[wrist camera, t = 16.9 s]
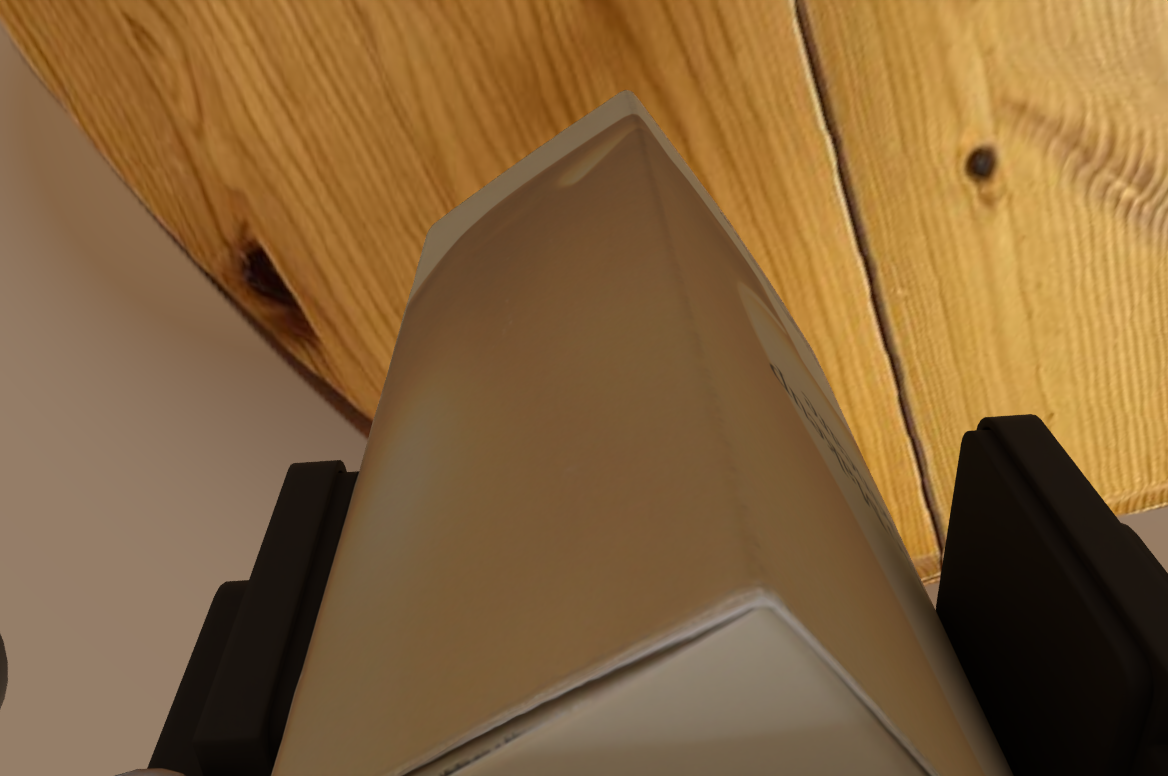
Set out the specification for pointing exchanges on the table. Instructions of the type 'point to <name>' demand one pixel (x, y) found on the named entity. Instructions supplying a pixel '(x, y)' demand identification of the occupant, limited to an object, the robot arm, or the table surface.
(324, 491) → the robot arm
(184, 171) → the table surface
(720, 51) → the table surface
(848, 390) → the table surface
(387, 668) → the cosmetic box
